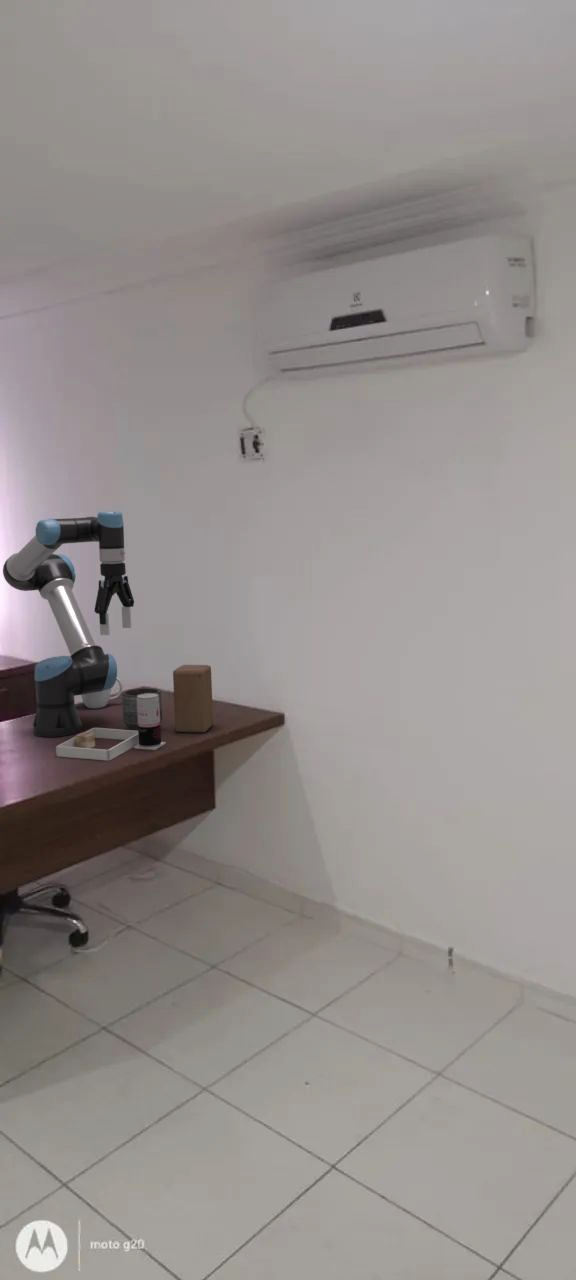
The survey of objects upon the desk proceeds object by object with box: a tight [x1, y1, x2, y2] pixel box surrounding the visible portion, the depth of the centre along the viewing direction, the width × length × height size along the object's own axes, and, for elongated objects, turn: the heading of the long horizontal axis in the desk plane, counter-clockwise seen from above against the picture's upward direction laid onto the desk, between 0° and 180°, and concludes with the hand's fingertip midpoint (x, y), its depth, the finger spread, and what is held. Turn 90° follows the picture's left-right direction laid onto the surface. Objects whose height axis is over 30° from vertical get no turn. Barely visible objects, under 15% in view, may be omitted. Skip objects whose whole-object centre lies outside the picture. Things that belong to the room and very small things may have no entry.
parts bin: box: [55, 727, 139, 761], centre depth 275 cm, size 17×21×3 cm
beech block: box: [75, 731, 96, 749], centre depth 276 cm, size 4×4×4 cm
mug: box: [80, 676, 123, 709], centre depth 327 cm, size 15×11×13 cm
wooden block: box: [172, 664, 214, 734], centre depth 293 cm, size 10×10×20 cm
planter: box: [121, 687, 163, 731], centre depth 293 cm, size 12×12×13 cm
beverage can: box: [137, 693, 162, 747], centre depth 275 cm, size 6×6×15 cm
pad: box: [133, 741, 167, 751], centre depth 276 cm, size 7×7×1 cm
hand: (116, 631), depth 285 cm, fingers open, 13 cm apart
